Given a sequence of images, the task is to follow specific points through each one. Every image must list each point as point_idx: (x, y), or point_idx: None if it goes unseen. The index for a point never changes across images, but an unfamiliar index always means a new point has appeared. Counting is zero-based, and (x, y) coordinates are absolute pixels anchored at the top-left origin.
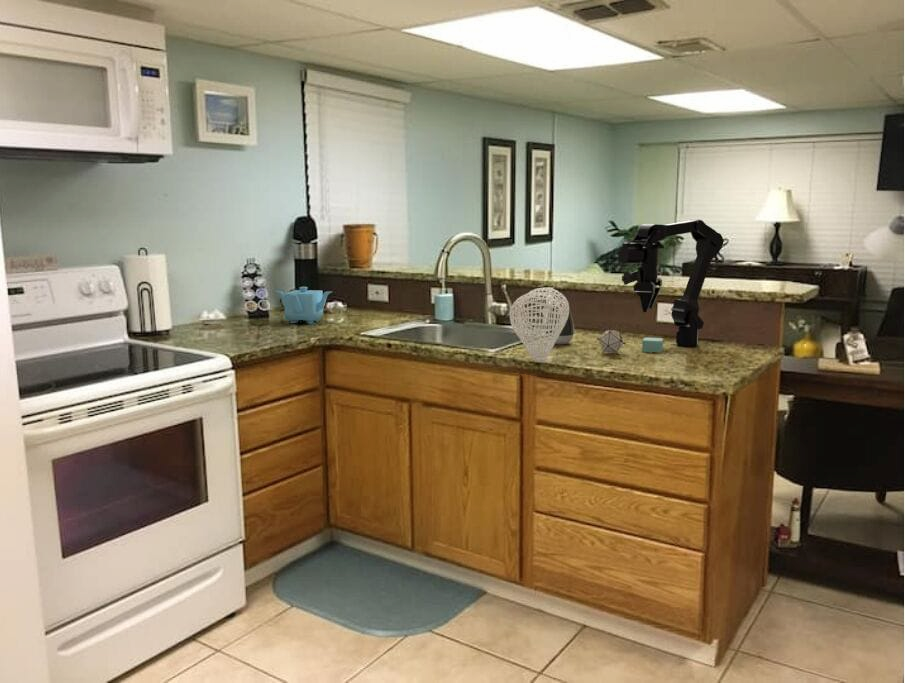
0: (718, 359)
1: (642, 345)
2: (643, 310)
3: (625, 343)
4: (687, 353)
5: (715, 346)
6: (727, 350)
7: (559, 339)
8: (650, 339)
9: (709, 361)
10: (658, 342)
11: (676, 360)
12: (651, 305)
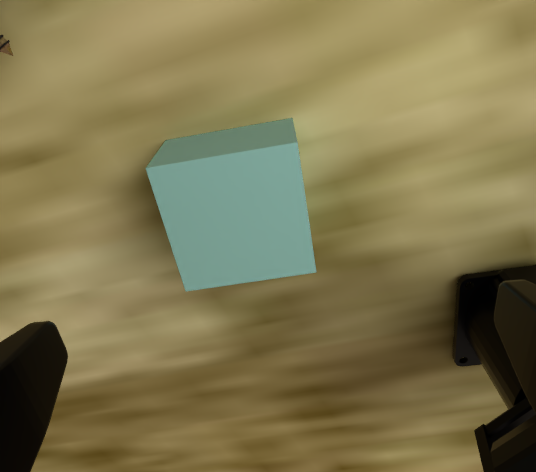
0: (188, 465)
1: (156, 156)
2: (14, 343)
3: (4, 51)
4: (259, 357)
5: None
6: (417, 460)
7: None
8: (222, 209)
9: (123, 450)
10: (181, 270)
11: None
12: (521, 359)
